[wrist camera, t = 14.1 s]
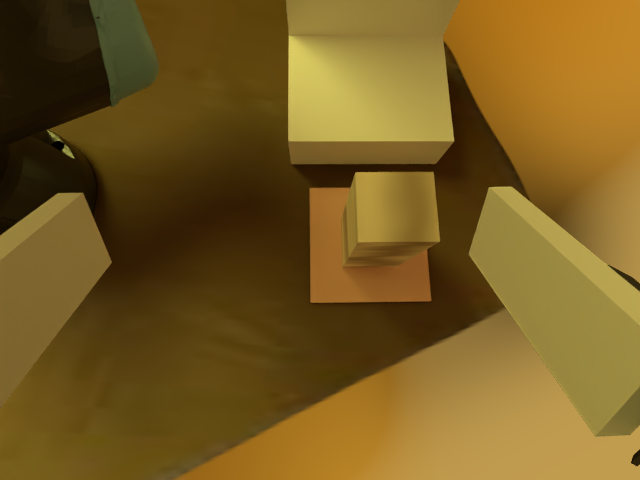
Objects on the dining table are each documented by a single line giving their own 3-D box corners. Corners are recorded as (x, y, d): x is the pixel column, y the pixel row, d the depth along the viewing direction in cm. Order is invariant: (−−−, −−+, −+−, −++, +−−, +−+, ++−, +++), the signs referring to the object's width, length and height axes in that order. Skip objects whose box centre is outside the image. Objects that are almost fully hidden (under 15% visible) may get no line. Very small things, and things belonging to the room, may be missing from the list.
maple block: (342, 267, 34) (358, 242, 23) (341, 219, 35) (355, 172, 24) (396, 267, 34) (440, 241, 23) (393, 219, 36) (433, 171, 24)
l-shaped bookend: (291, 164, 37) (256, -93, 14) (291, 58, 40) (263, -301, 17) (435, 164, 38) (639, -87, 14) (425, 59, 41) (580, -291, 17)
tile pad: (310, 302, 34) (310, 302, 33) (309, 190, 37) (309, 187, 36) (429, 301, 34) (431, 301, 34) (419, 189, 37) (421, 187, 36)
